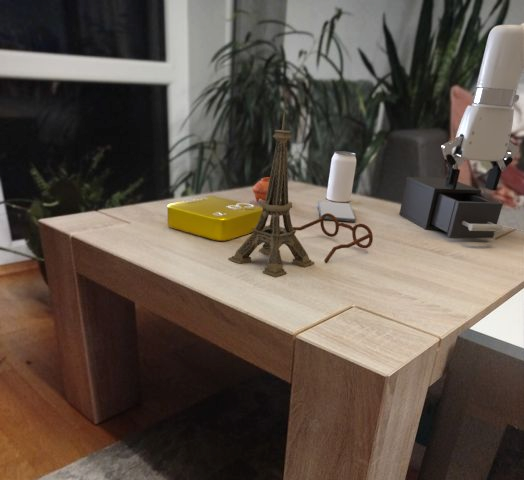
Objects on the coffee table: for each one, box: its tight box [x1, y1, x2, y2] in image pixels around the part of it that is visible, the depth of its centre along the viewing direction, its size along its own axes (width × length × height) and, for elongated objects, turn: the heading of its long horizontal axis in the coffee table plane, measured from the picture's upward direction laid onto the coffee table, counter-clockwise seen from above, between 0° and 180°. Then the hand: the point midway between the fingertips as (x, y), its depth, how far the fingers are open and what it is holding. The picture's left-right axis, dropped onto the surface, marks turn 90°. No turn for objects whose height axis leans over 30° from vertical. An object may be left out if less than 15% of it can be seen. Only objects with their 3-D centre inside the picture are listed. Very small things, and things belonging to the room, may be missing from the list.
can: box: [326, 150, 357, 203], centre depth 133 cm, size 6×6×12 cm
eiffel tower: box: [227, 100, 316, 278], centre depth 80 cm, size 11×11×25 cm
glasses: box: [293, 213, 374, 264], centre depth 95 cm, size 13×13×5 cm
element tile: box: [166, 195, 263, 242], centre depth 102 cm, size 15×15×5 cm
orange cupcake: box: [252, 176, 274, 203], centre depth 124 cm, size 8×8×7 cm
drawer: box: [430, 192, 504, 239], centre depth 109 cm, size 17×10×7 cm, turn 12°
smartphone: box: [317, 200, 357, 223], centre depth 121 cm, size 8×1×15 cm
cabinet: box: [399, 176, 482, 231], centre depth 119 cm, size 14×12×9 cm
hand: (470, 188), depth 107 cm, fingers open, 9 cm apart
